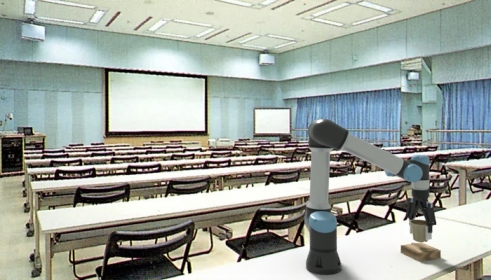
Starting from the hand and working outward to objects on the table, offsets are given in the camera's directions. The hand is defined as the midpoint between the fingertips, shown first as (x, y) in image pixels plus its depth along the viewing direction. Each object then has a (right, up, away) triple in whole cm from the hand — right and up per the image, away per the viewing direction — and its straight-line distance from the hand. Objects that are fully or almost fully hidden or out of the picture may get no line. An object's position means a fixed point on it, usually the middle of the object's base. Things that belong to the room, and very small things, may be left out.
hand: (420, 236), depth 177 cm
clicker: (+2, -9, +11) cm, 14 cm away
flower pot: (0, -2, 0) cm, 2 cm away
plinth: (0, -9, +1) cm, 9 cm away
